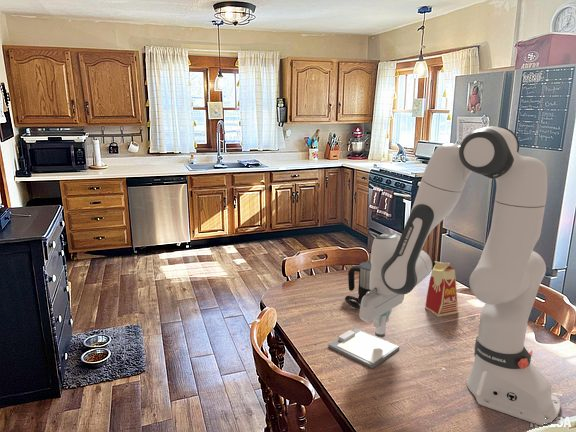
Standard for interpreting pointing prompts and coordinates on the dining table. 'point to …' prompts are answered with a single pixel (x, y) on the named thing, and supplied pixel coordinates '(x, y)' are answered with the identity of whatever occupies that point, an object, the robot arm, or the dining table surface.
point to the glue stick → (381, 330)
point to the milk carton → (442, 290)
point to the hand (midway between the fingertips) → (381, 323)
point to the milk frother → (363, 283)
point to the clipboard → (363, 347)
